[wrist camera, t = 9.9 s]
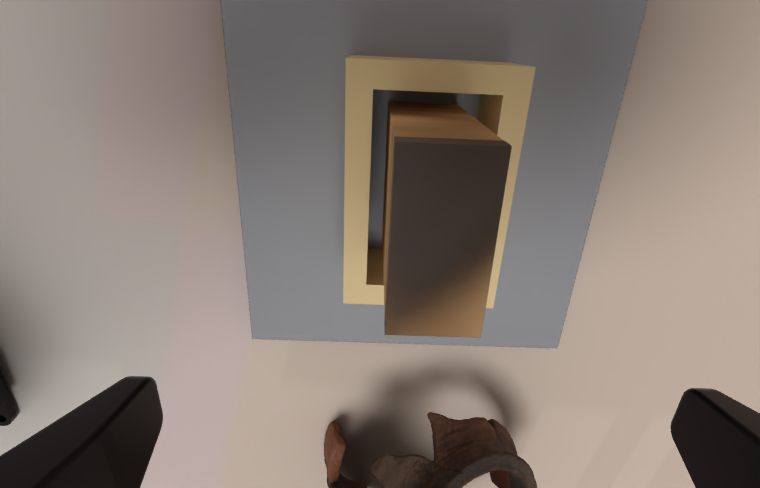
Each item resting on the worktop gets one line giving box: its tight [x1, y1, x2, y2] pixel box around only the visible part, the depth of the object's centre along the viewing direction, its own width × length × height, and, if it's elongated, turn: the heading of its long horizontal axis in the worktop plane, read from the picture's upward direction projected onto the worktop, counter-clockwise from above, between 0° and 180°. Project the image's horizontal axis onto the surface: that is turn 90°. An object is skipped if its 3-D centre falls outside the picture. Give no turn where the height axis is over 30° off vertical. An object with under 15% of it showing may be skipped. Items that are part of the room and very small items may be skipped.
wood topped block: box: [382, 102, 512, 338], centre depth 14 cm, size 2×5×7 cm, turn 178°
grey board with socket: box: [221, 0, 648, 348], centre depth 16 cm, size 14×16×4 cm
